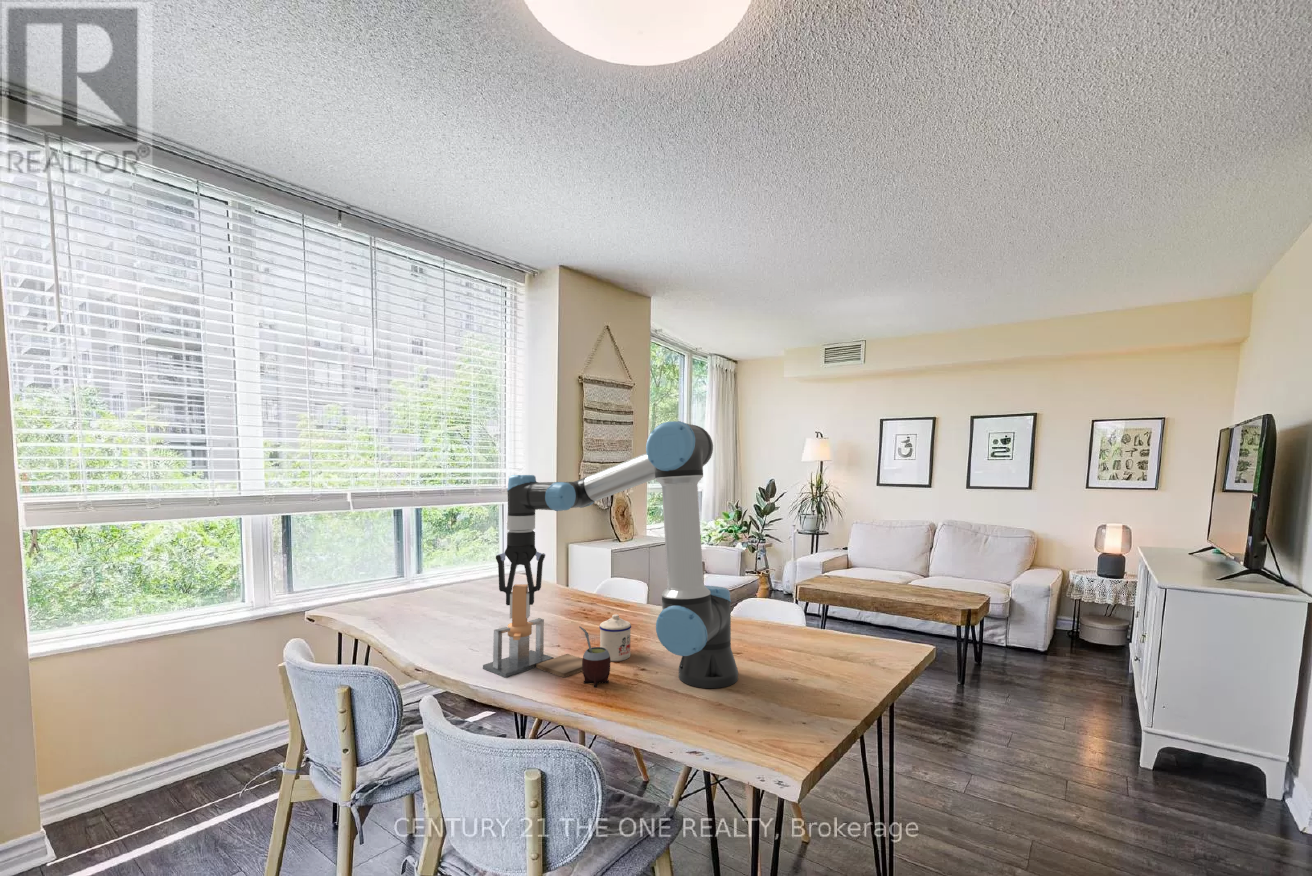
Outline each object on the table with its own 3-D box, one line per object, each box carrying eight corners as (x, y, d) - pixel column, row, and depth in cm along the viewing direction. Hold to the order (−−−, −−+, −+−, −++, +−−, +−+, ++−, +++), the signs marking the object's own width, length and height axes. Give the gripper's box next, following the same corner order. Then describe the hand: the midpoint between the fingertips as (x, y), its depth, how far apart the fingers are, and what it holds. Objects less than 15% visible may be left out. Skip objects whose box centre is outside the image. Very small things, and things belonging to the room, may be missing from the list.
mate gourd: (611, 677, 143) (611, 618, 143) (609, 689, 135) (609, 626, 136) (581, 677, 142) (582, 618, 143) (578, 689, 134) (578, 626, 135)
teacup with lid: (624, 663, 153) (624, 620, 153) (593, 660, 156) (594, 617, 156) (639, 650, 164) (639, 610, 165) (610, 647, 167) (611, 607, 168)
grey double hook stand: (531, 653, 161) (531, 615, 162) (553, 661, 155) (554, 621, 155) (482, 668, 149) (483, 627, 149) (505, 677, 142) (506, 634, 143)
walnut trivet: (594, 665, 151) (594, 662, 151) (563, 677, 142) (563, 673, 142) (567, 657, 158) (567, 653, 158) (536, 667, 149) (536, 664, 149)
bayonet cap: (511, 628, 158) (511, 581, 158) (534, 627, 158) (534, 581, 159) (503, 640, 146) (504, 590, 147) (528, 640, 147) (529, 589, 147)
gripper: (552, 529, 158) (552, 612, 157) (492, 529, 157) (491, 614, 155) (550, 531, 151) (549, 619, 149) (487, 532, 149) (485, 621, 148)
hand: (519, 616), depth 152 cm, fingers closed on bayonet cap, 4 cm apart
